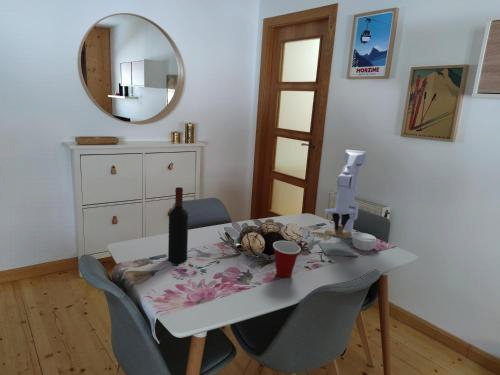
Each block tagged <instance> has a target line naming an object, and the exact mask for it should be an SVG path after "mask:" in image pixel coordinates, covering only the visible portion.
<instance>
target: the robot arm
mask: <svg viewBox="0 0 500 375" xmlns="http://www.w3.org/2000/svg"><path fill="white" fill-rule="evenodd" d="M366 160H367V151H366V150H365V151H364V150H355V149H347V148H346V150H345V153H344V164H345V165H343V167H342V170H341V173H340V174H338V176H337V178H336V191H337V192H336V200H335V207H334V208H325V210H324V214H325V215H331V216H332V218H333V224H334V228H335V229H336V230H338V224H339V223H341V224H342V225H343V230H347V231H349V232H351V234H352V235H353V230H354V229H353V228H354V222H355V221H356V220H357V219H358V216H359V204H358V203H357V202H356V201H355V195H356V190H357V189H356V188H357V183H358V178H359V172H360V171H361V169H364V167H365V164H366ZM349 239H353V238H352V236H351V237H350V238H349Z"/></svg>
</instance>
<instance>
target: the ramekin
mask: <svg viewBox="0 0 500 375" xmlns="http://www.w3.org/2000/svg"><path fill="white" fill-rule="evenodd" d="M351 239H352V246H353V247H354V248H355V249H357V250H360V251H367V252H368V251H372V250H373V249H374V247H375V244H376V242H377V238H376V236H375V235H372V234H369V233H366V232H355V233H352V238H351Z"/></svg>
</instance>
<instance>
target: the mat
mask: <svg viewBox="0 0 500 375" xmlns="http://www.w3.org/2000/svg"><path fill="white" fill-rule="evenodd" d="M317 244H318V246H319V248H321V250H322V251H323V253H324V254H325V256H327V257H328V256H330V257H331V256H333V257H334V256H335V257H339V256H340V257H357V254H356V252H354V250H353V249H352V248H351V247H350V246H349V245H348V244H347V242H317Z"/></svg>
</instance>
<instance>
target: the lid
mask: <svg viewBox="0 0 500 375" xmlns="http://www.w3.org/2000/svg"><path fill="white" fill-rule="evenodd" d="M324 234H325V235H327V236H328V237H331V238H335V239H351V238H350V237H351V236H352V235H353V233H352V234H351V232H349V231H347V230H343V225H342V224H341V223H339V224H338V230H336V229H335V227H334V228H333V227H332V228H327V229H325V230H324Z"/></svg>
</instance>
